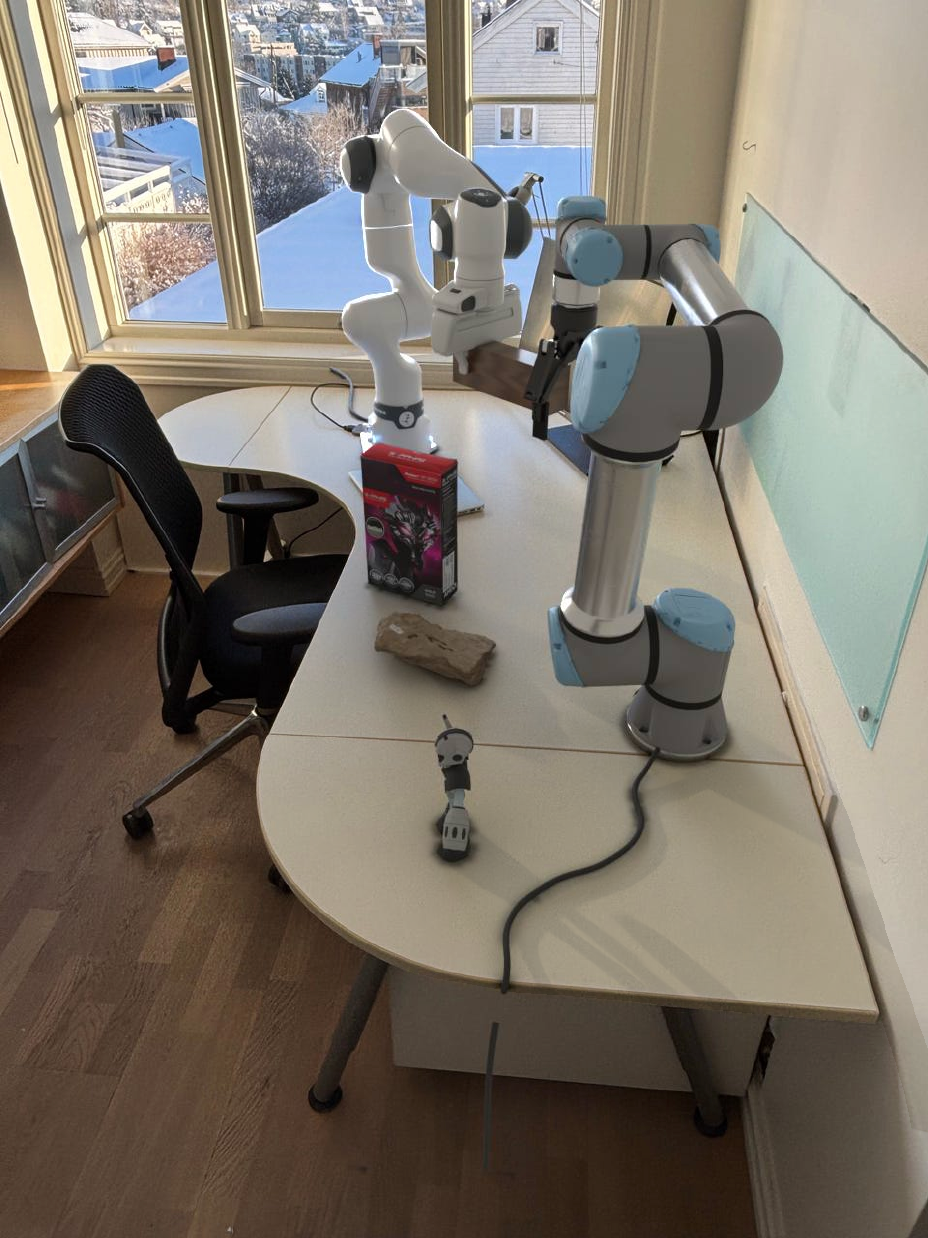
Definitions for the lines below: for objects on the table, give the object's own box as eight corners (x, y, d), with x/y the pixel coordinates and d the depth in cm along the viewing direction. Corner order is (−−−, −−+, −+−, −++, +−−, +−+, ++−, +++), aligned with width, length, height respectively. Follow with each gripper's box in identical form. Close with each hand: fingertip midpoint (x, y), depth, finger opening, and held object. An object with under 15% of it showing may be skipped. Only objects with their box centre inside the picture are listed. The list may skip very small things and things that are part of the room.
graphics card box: (364, 585, 178) (356, 453, 162) (384, 569, 183) (377, 440, 167) (442, 608, 171) (441, 473, 156) (460, 591, 176) (461, 458, 161)
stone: (350, 659, 152) (357, 626, 150) (382, 628, 166) (388, 598, 163) (469, 701, 149) (478, 669, 146) (492, 666, 162) (500, 636, 160)
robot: (476, 896, 116) (478, 779, 105) (437, 897, 116) (436, 781, 105) (467, 786, 132) (469, 675, 121) (434, 787, 132) (432, 676, 121)
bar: (567, 408, 161) (570, 364, 157) (547, 416, 158) (550, 371, 153) (472, 374, 175) (473, 333, 170) (452, 381, 172) (452, 339, 167)
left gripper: (506, 277, 169) (503, 352, 177) (424, 298, 157) (425, 377, 165) (532, 284, 166) (528, 360, 173) (450, 306, 154) (450, 386, 161)
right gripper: (604, 284, 157) (593, 403, 169) (504, 312, 142) (500, 440, 154) (640, 292, 153) (626, 414, 165) (540, 322, 138) (533, 454, 150)
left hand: (477, 368), depth 169 cm, fingers closed on bar, 5 cm apart
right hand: (565, 427), depth 159 cm, fingers open, 13 cm apart
